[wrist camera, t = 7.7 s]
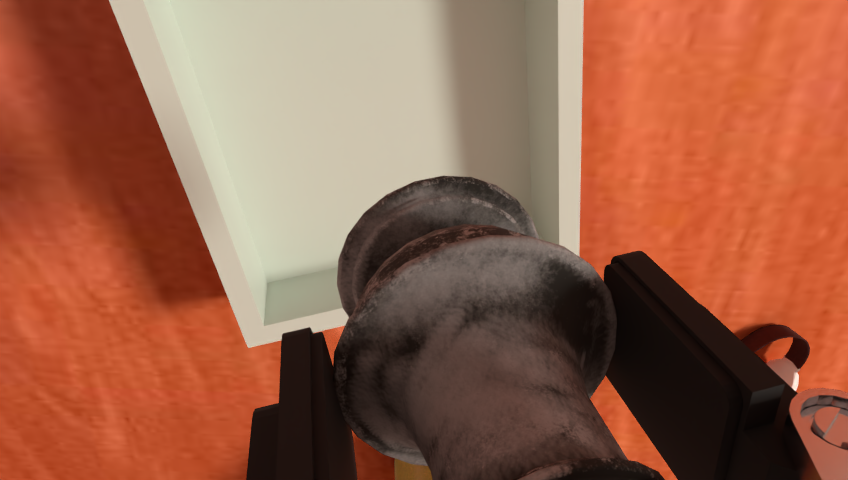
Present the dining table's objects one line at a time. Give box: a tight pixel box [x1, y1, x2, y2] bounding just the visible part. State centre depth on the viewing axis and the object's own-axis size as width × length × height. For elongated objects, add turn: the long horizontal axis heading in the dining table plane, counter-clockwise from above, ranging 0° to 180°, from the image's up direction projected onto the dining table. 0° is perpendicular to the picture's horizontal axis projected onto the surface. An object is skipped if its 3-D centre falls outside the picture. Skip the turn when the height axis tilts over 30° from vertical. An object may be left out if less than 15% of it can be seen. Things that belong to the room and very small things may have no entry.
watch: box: [742, 325, 810, 391], centre depth 38 cm, size 8×5×4 cm, turn 152°
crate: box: [109, 0, 584, 348], centre depth 23 cm, size 16×16×4 cm
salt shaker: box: [333, 176, 665, 480], centre depth 9 cm, size 6×6×12 cm
